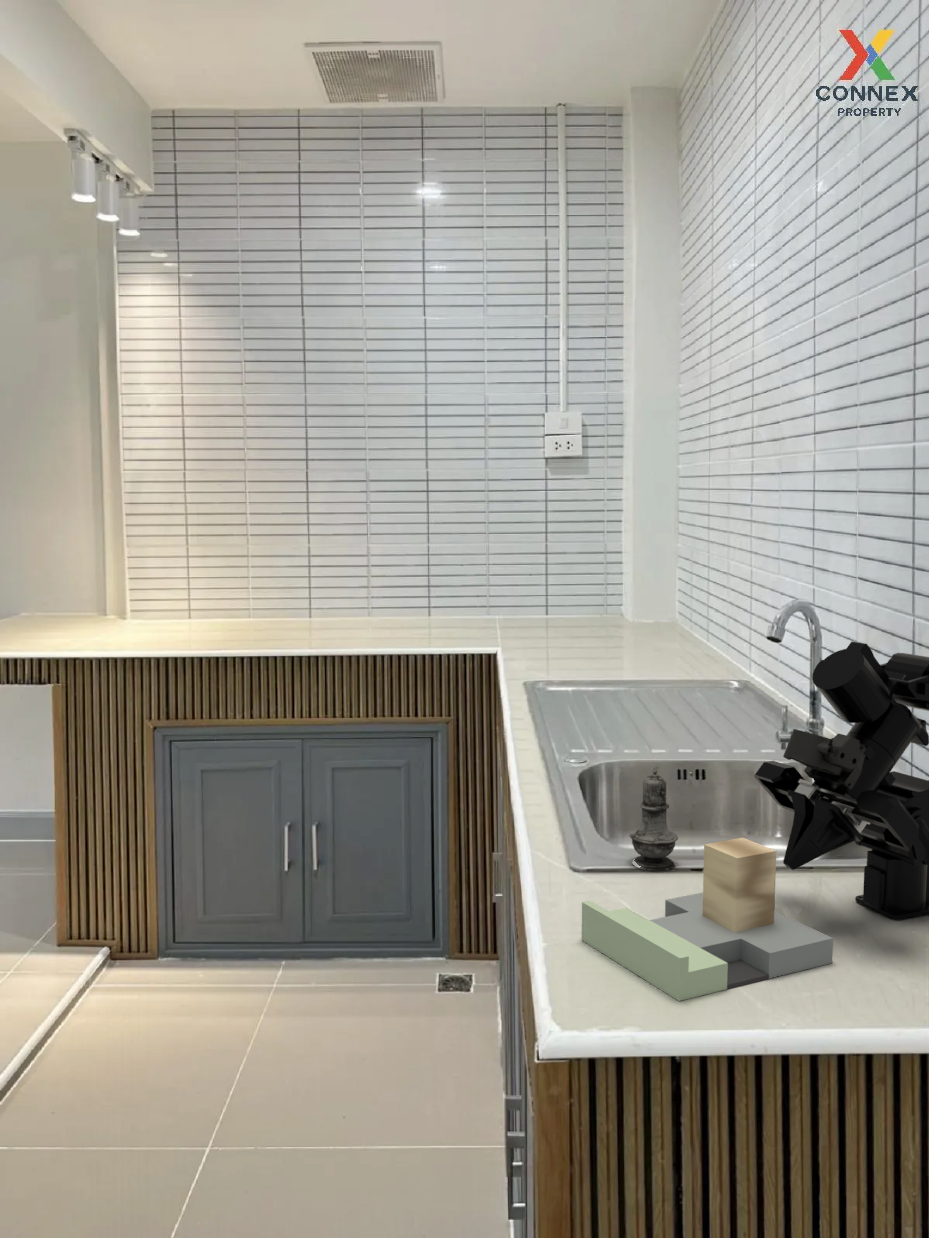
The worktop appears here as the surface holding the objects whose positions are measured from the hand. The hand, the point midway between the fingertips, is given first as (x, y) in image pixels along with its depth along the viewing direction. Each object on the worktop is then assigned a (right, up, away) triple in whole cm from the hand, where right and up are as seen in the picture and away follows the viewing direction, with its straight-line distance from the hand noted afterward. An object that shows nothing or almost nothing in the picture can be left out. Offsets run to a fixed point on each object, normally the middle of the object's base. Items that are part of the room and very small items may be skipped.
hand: (787, 866), depth 120 cm
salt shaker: (-10, -5, +23) cm, 25 cm away
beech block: (-6, -5, -2) cm, 8 cm away
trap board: (-9, -8, -4) cm, 13 cm away
